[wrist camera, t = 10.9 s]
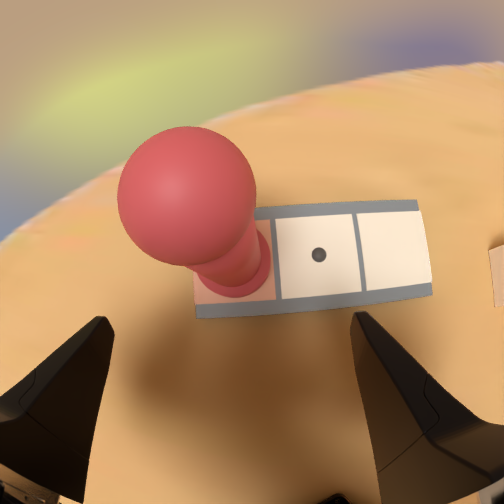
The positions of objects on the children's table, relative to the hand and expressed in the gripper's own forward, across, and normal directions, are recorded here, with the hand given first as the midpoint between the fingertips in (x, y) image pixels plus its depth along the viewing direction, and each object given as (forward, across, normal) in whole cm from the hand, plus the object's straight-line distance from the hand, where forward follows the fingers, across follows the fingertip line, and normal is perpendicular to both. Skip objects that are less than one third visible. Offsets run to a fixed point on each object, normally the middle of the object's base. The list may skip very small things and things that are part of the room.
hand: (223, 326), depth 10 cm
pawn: (+7, 0, +2) cm, 8 cm away
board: (+8, -5, +3) cm, 10 cm away
